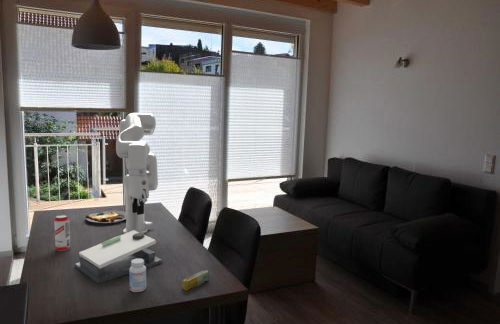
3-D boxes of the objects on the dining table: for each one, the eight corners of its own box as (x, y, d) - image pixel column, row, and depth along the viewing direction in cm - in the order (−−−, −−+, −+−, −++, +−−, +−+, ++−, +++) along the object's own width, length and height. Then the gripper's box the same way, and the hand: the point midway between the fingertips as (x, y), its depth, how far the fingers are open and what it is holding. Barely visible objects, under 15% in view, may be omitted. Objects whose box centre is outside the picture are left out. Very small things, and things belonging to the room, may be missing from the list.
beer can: (64, 252, 187) (63, 218, 184) (52, 250, 188) (50, 217, 186) (73, 247, 193) (71, 214, 191) (61, 246, 194) (59, 213, 192)
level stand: (136, 249, 192) (136, 240, 191) (161, 262, 178) (161, 252, 177) (75, 266, 171) (74, 256, 171) (98, 283, 157) (98, 271, 156)
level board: (134, 233, 188) (133, 226, 188) (156, 243, 176) (155, 236, 175) (79, 255, 171) (78, 248, 170) (99, 268, 158) (98, 261, 158)
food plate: (97, 228, 221) (97, 222, 221) (78, 219, 237) (78, 213, 236) (137, 220, 240) (137, 214, 239) (117, 212, 255) (117, 207, 255)
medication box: (204, 279, 164) (204, 269, 163) (209, 280, 162) (208, 271, 162) (181, 289, 154) (181, 279, 154) (186, 291, 153) (186, 281, 152)
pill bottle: (131, 285, 156) (130, 257, 154) (147, 285, 157) (147, 257, 155) (128, 292, 150) (127, 264, 148) (144, 292, 151) (144, 263, 149)
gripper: (155, 173, 173) (156, 215, 175) (135, 168, 184) (135, 208, 186) (140, 175, 167) (140, 219, 170) (119, 170, 178) (120, 211, 181)
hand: (138, 212), depth 178 cm, fingers open, 3 cm apart
